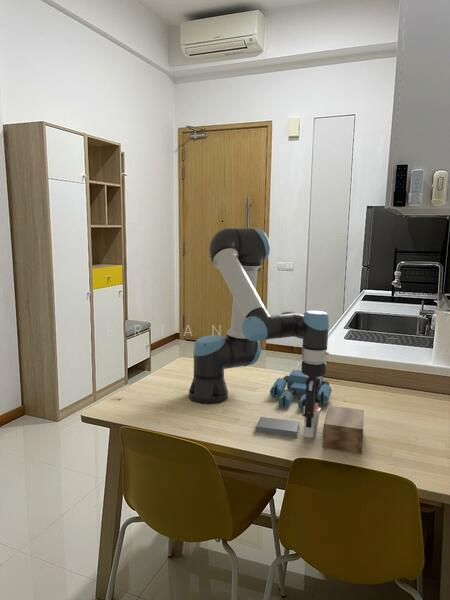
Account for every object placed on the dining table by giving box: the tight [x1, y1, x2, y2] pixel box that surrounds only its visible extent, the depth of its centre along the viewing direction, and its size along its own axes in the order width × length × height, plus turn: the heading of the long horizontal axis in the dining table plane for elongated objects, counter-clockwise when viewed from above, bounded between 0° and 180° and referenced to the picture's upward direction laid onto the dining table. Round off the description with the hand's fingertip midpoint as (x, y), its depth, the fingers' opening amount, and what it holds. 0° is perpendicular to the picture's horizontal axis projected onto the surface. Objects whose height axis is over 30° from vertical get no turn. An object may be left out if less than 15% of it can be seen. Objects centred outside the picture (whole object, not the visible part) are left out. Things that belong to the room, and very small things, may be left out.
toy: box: [269, 362, 333, 411], centre depth 177 cm, size 22×9×30 cm
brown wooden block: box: [322, 405, 365, 455], centre depth 140 cm, size 11×15×8 cm
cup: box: [303, 405, 321, 438], centre depth 142 cm, size 5×5×12 cm
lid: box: [255, 416, 300, 439], centre depth 146 cm, size 13×8×2 cm, turn 74°
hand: (310, 429), depth 143 cm, fingers open, 10 cm apart
